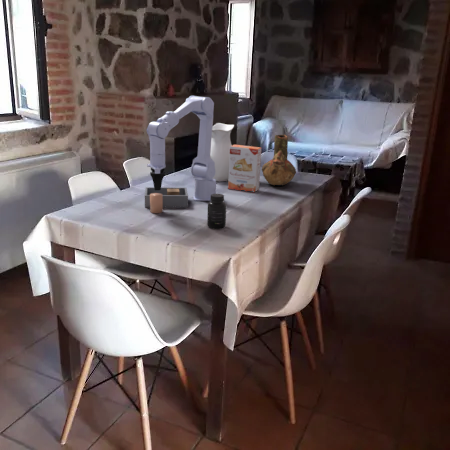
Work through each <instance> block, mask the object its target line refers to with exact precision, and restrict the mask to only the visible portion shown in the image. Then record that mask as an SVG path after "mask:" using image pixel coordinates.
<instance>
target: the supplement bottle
mask: <svg viewBox="0 0 450 450" xmlns="http://www.w3.org/2000/svg"><path fill="white" fill-rule="evenodd" d="M210 200H211V201H208V203H207V215H206V216H207V223H206V225H207V227H208V228H209V229H212V230H222V229H224V228H226V225H227V204H226V202H225V195H224V194H222V193H216V194H212V195H211V199H210Z"/></svg>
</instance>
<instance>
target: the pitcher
mask: <svg viewBox="0 0 450 450" xmlns="http://www.w3.org/2000/svg"><path fill="white" fill-rule="evenodd" d="M234 128H235V124H225V123H221V122H216V123H215V124H214V125H213V126H212V139H211V151H210V158H211V159H212V160H213V161H214V162H215V176H214V177H213V179H215V180H216V182H227V181H228V179H229V158H230V146H232V145H233V144H232V141H231V133H232V130H233V129H234ZM202 164H203V163H202Z"/></svg>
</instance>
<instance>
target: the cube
mask: <svg viewBox="0 0 450 450" xmlns="http://www.w3.org/2000/svg"><path fill="white" fill-rule="evenodd" d="M167 195H179V189H167Z"/></svg>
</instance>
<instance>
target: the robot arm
mask: <svg viewBox="0 0 450 450" xmlns="http://www.w3.org/2000/svg"><path fill="white" fill-rule="evenodd" d="M214 106H215V102H214V101H213V100H212V98H211V97H209V96H197V95H190V96H189V97H187V98H186V99H185V102H183V103H182V104H181V105H180V106H179V107H177V108H176V110H174V111H172V110H171V111H166V112H165V114H164V115H163V116H161V117H159V118H157V120H156V121H151V122H149V123H148V126H147V128H146V129H145V130H146V133H147V135H148V140H149V148H150V149H149V155H150V157H149V158H150V159H149V160H150V161H149V163H148V164H147V165H146V167H147V168H150V173H149V175H150V176H151V177H150V178H151V179H152V183H153V187H154V189H155V190H161V187H162V184H163V179H164V177H165V175H166V173H165V170H166V166H167V165H166V138H167V137H168V135H169V133H170V131H171V130H172V129H173V128H174V127H176V126H177V125H178V124H179V122H180V120H181V119H182V118H183V117H185V116H186V115H188V114H190V113H193V114H195V115H196V116H197V117H198V119H199V130H198V131H199V132H198V146H197V156H196V157H194V158H193V159H192V164H191V168H190V174H191V175H192V177H193V179H194V194H192V198H193V201H196V202H197V201H201V202H203V201H205V202H206V201H207V202H210V201H211V200H210V199H211V195H212V194H217V181H216V180H215V179H213V177H214V176H215V162H214V161H213V160H212V159H211V158H210V151H211V139H212V127H213V126H214V125H213V124H214V109H215V107H214ZM202 163H203V164H202Z"/></svg>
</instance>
